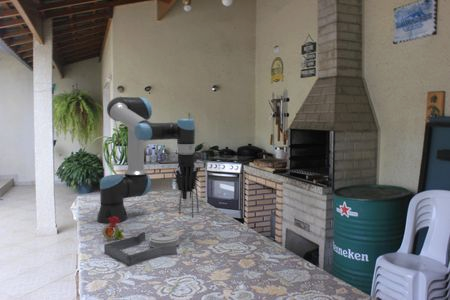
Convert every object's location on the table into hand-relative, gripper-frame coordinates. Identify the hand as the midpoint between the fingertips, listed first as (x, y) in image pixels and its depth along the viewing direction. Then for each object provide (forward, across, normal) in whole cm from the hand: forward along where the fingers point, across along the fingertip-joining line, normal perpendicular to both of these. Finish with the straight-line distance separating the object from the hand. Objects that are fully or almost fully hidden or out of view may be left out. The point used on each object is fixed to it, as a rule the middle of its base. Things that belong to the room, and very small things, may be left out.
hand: (186, 205), depth 170 cm
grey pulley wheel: (+16, -12, 0) cm, 20 cm away
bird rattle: (+15, -24, +21) cm, 36 cm away
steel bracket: (+15, -25, 0) cm, 29 cm away
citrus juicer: (+15, +26, +31) cm, 44 cm away
